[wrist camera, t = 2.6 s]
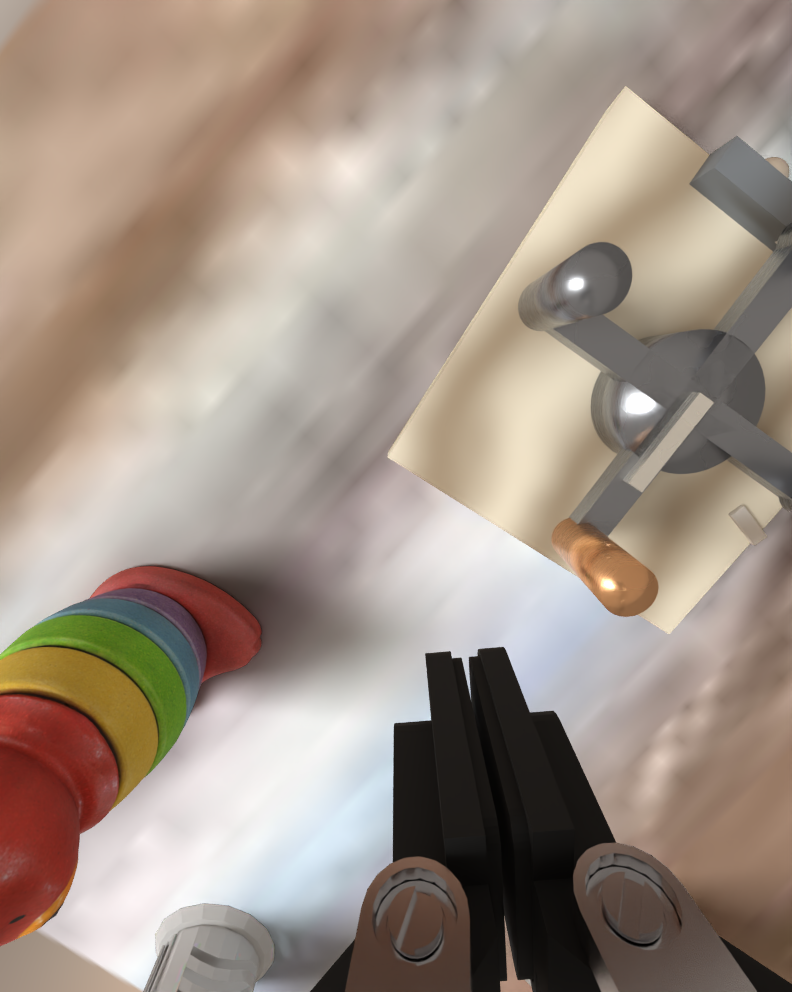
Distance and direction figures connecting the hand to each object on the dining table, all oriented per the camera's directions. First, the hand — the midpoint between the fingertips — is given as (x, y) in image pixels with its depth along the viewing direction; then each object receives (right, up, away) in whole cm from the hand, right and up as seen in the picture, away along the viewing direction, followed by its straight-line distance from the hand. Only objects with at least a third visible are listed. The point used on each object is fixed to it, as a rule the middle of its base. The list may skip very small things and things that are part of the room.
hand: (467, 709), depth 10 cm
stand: (+12, +10, +16) cm, 23 cm away
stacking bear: (-17, -4, +21) cm, 27 cm away
